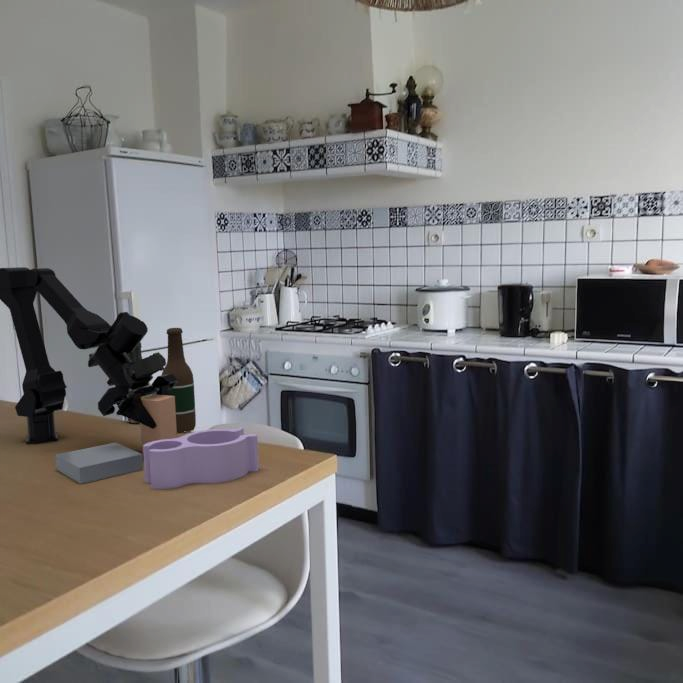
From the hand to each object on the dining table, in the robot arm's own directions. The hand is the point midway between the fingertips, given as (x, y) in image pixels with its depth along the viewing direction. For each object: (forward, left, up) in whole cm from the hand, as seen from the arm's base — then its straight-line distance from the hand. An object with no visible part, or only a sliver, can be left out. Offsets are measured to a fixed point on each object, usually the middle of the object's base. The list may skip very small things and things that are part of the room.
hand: (163, 424), depth 140 cm
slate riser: (+4, -13, -7) cm, 15 cm away
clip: (+16, +5, -7) cm, 18 cm away
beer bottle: (-21, +6, -7) cm, 23 cm away
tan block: (-1, -1, -7) cm, 7 cm away
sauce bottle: (-34, -2, -7) cm, 35 cm away
